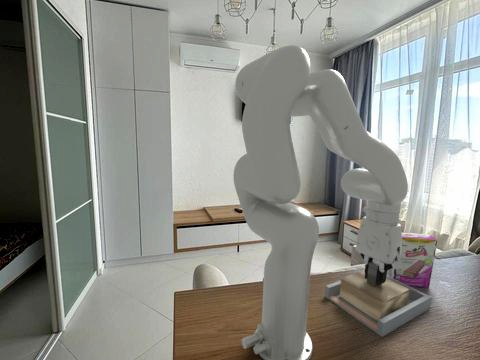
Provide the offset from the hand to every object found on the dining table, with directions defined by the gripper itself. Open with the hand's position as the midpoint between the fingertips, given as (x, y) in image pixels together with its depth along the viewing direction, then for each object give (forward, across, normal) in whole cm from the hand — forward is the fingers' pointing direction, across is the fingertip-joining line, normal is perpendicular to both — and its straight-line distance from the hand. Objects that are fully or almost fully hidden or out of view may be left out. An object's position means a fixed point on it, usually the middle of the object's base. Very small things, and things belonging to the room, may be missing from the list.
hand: (374, 280), depth 69 cm
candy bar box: (+8, -2, +21) cm, 22 cm away
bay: (+7, 0, +2) cm, 8 cm away
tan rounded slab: (+7, 0, 0) cm, 7 cm away
